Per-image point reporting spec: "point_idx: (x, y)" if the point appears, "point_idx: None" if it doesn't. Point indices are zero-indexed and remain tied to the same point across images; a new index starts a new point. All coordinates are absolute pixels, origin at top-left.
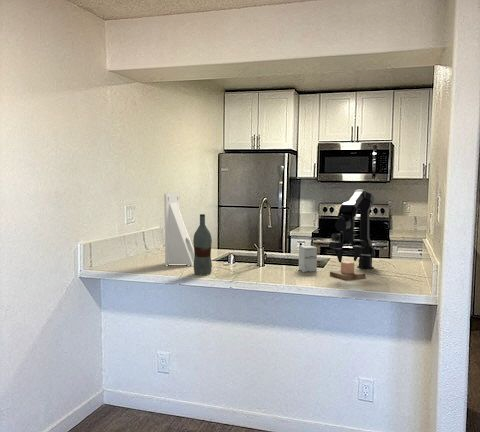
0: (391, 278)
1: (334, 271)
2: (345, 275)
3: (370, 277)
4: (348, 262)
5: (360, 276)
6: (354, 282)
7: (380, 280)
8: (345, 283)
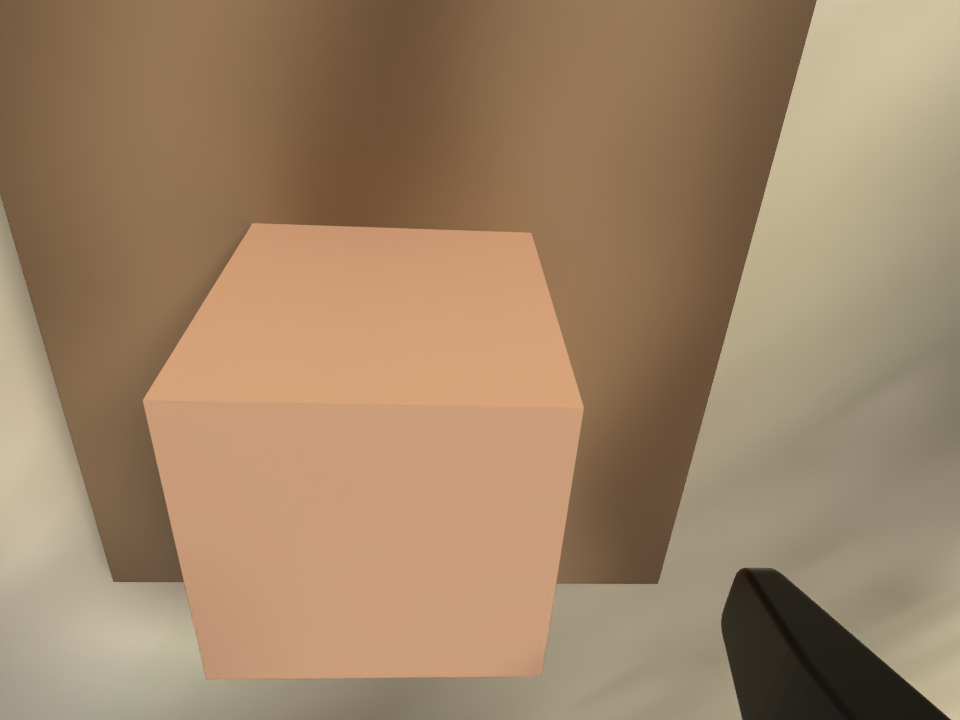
0: (913, 685)
1: (110, 19)
2: (129, 553)
3: (737, 534)
4: (388, 581)
5: None
6: (193, 666)
7: (657, 707)
8: (3, 662)
